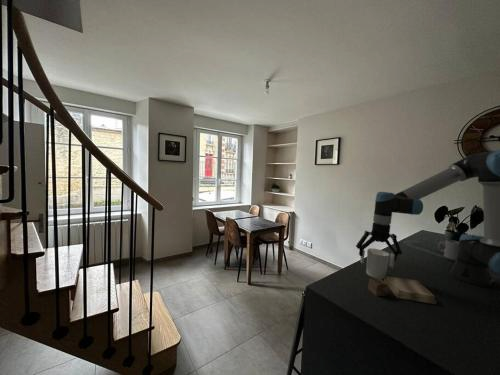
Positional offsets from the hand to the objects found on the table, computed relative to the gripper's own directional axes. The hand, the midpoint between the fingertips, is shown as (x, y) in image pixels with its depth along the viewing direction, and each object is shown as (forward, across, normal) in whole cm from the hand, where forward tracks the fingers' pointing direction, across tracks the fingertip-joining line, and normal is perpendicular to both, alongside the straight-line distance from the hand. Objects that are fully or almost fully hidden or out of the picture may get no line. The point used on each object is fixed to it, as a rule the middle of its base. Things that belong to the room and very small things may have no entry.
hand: (376, 264), depth 110 cm
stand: (+5, -9, +13) cm, 17 cm away
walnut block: (+6, +5, +18) cm, 19 cm away
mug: (+5, -59, -46) cm, 75 cm away
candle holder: (+6, 0, 0) cm, 6 cm away
